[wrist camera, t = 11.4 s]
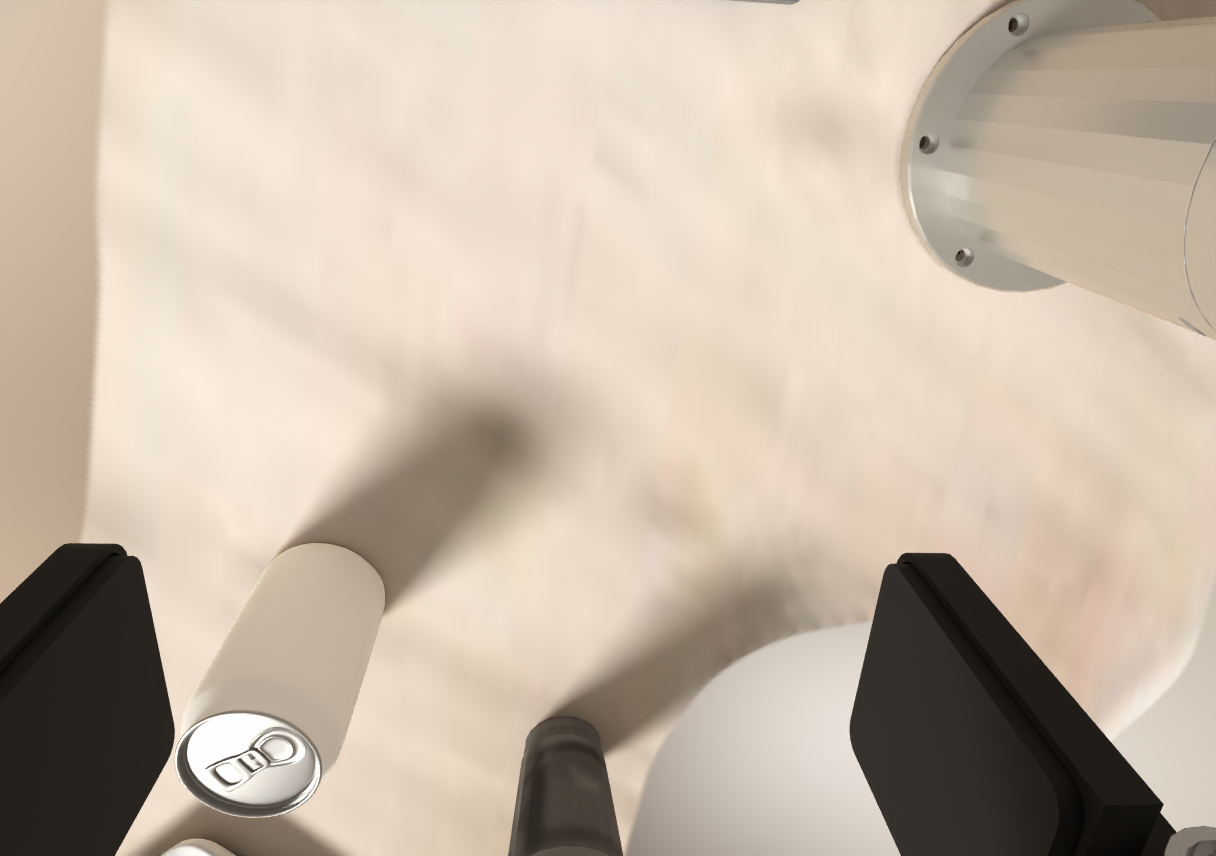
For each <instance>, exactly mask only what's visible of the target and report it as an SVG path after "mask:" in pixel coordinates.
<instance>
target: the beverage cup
mask: <svg viewBox="0 0 1216 856" xmlns="http://www.w3.org/2000/svg"><path fill="white" fill-rule="evenodd" d="M508 856H623V852H622V847H621V841H620V836H619V831H618V826H617V821H616V815H615V810H614V805H613V800H612V795H611V789H610V784H609V779H608V774H607V769H606V763H605V759H604V756H603V753H602V750H601V745H600V740H599V736H598V733H597V732H596V731H595V729H594V728H593V727H592V726H591V725H589V724H588V723H586V722H585V721H583V720H580V719H577V718H573V717H557V718H552V719H548V720H546V721H544V722H542V723H540V724H538V725H537V726H536V727H535V728H534V729H533V730H532V731H531V732H530V733H529V735H528V737H527V739H526V745H525V751H524V757H523V759H522V763H521V770H520V777H519V784H518V791H517V798H516V805H515V812H514V819H513V826H512V833H511V840H510V847H509V854H508Z"/></svg>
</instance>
